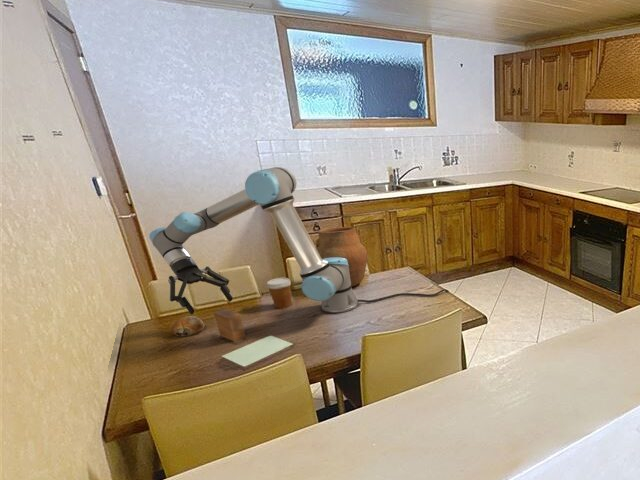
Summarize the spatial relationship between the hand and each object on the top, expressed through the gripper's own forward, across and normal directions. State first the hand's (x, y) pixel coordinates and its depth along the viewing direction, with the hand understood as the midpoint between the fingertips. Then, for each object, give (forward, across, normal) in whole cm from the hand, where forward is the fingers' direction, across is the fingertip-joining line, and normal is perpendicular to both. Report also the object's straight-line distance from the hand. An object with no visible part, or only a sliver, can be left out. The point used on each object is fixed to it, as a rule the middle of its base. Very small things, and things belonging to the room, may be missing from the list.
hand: (212, 305), depth 165 cm
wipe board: (+28, +2, +11) cm, 30 cm away
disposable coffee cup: (+6, -29, -11) cm, 32 cm away
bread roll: (0, +5, -17) cm, 18 cm away
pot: (+8, -61, -9) cm, 62 cm away
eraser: (+15, 0, -2) cm, 15 cm away
